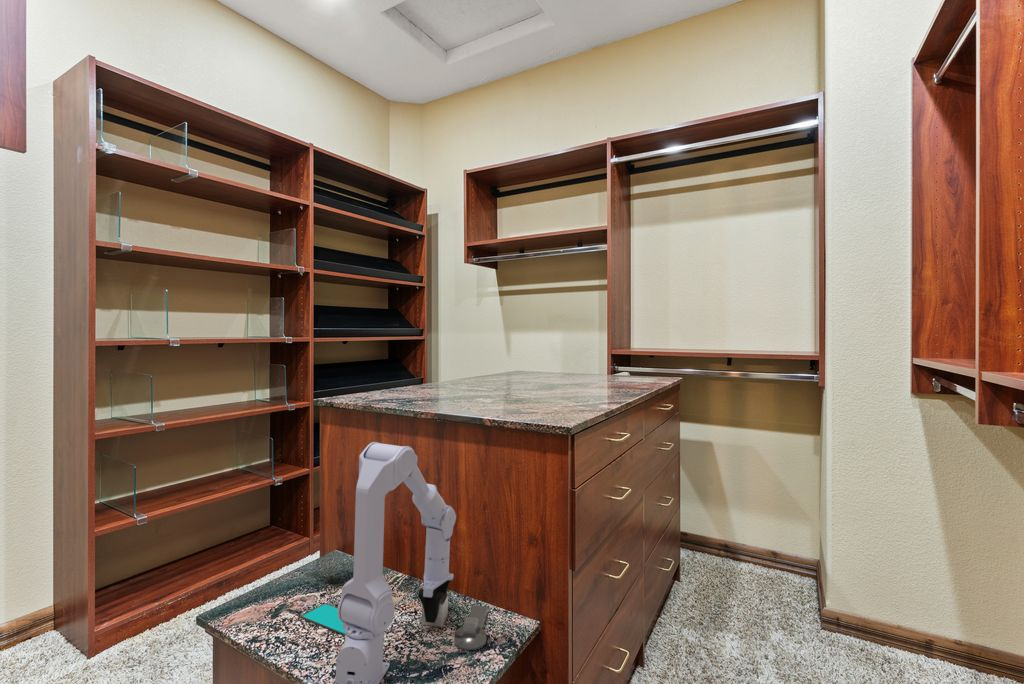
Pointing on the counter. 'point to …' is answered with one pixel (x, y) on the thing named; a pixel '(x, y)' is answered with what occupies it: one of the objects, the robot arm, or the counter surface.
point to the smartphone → (325, 618)
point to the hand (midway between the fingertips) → (434, 614)
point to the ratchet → (472, 630)
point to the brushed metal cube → (441, 613)
